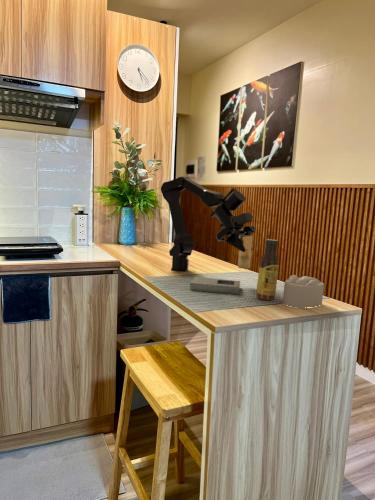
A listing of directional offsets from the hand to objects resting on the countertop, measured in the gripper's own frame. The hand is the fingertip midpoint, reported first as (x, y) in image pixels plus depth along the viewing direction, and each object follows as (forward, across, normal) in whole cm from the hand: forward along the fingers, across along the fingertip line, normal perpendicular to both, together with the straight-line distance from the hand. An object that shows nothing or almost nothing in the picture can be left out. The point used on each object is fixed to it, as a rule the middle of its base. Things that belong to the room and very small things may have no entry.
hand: (248, 250), depth 138 cm
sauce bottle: (+20, -9, 0) cm, 21 cm away
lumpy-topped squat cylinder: (+27, -4, -8) cm, 28 cm away
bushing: (+4, 0, +6) cm, 7 cm away
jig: (+7, -13, +12) cm, 19 cm away
